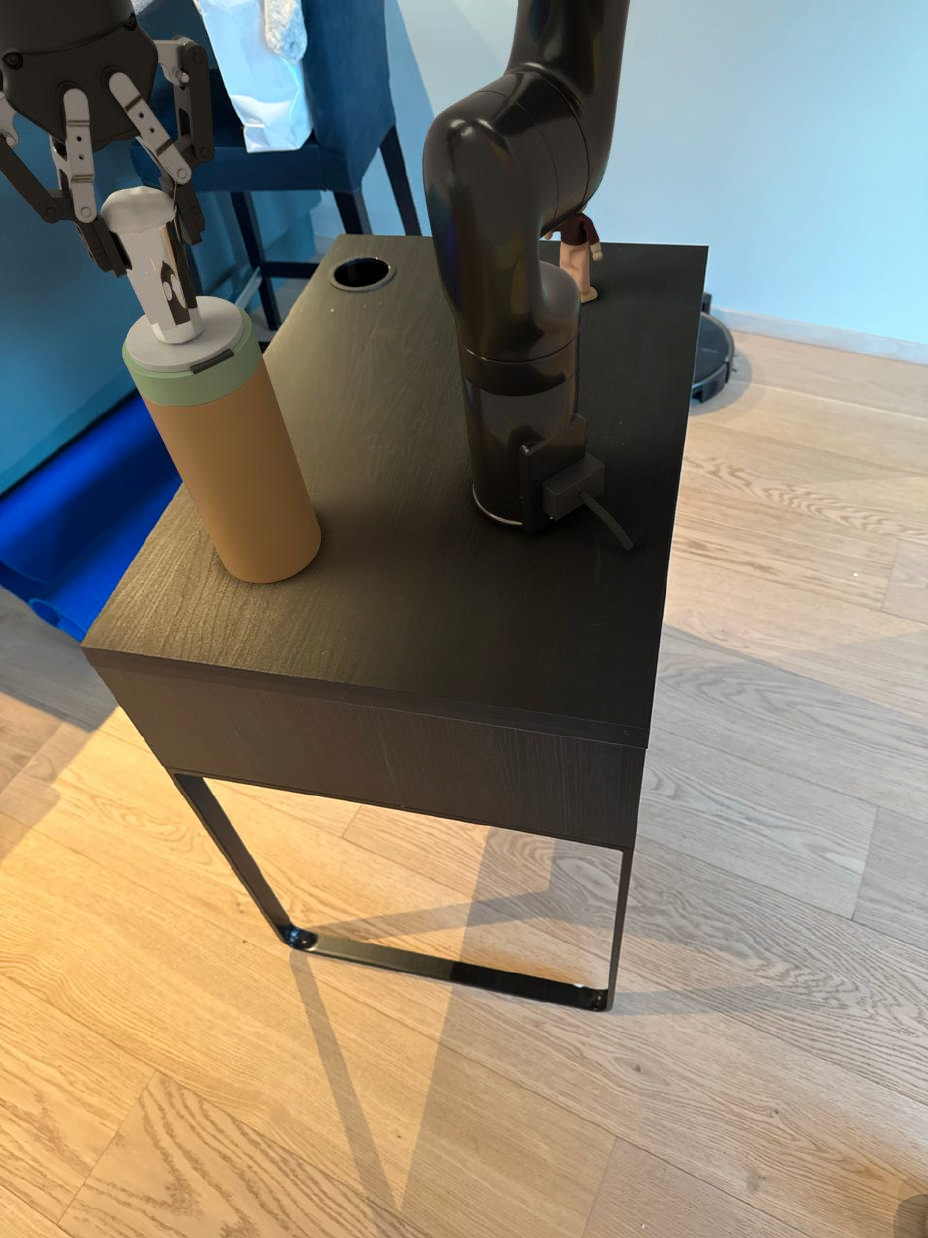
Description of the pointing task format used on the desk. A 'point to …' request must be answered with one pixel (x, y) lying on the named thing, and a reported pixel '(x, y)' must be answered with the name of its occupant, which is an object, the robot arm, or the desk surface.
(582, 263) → the grandmother figurine
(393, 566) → the desk surface
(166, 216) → the milkshake
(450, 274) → the robot arm
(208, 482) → the lidded travel tumbler
